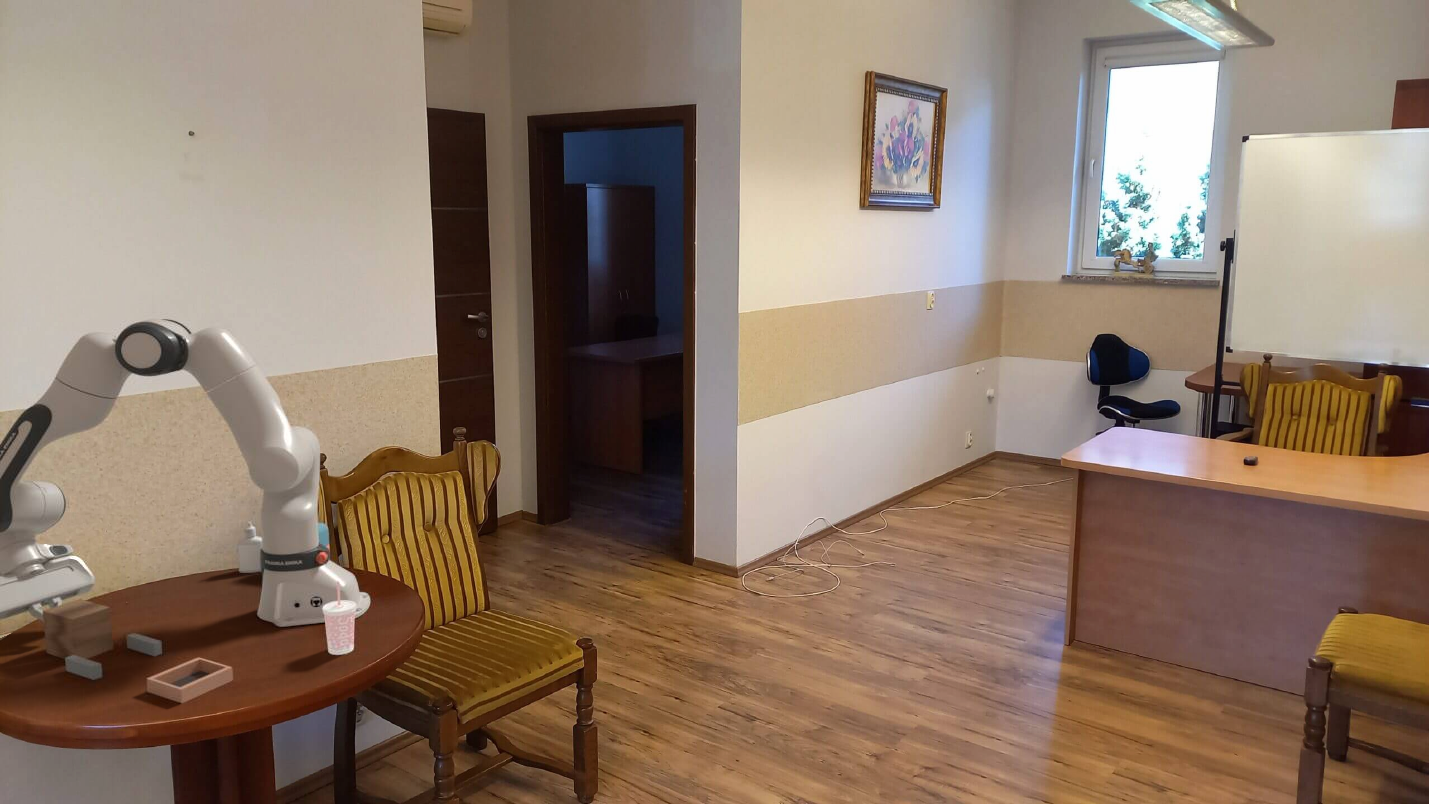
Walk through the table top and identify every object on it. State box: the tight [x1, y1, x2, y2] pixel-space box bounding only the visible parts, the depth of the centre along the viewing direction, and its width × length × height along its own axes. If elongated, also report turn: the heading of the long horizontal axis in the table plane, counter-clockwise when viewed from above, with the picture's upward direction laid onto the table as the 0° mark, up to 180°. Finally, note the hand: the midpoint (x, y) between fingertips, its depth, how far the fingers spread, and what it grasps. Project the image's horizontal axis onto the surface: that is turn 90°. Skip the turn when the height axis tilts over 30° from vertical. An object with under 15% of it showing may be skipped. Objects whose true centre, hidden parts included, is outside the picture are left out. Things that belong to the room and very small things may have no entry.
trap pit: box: [146, 657, 234, 704], centre depth 172 cm, size 9×10×2 cm
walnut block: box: [43, 598, 114, 660], centre depth 185 cm, size 9×7×8 cm
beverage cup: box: [322, 581, 356, 656], centre depth 187 cm, size 6×6×14 cm
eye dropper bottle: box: [237, 521, 262, 574], centre depth 230 cm, size 4×6×12 cm
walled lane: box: [64, 632, 163, 681], centre depth 181 cm, size 8×13×2 cm, turn 155°
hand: (55, 622), depth 188 cm, fingers closed
